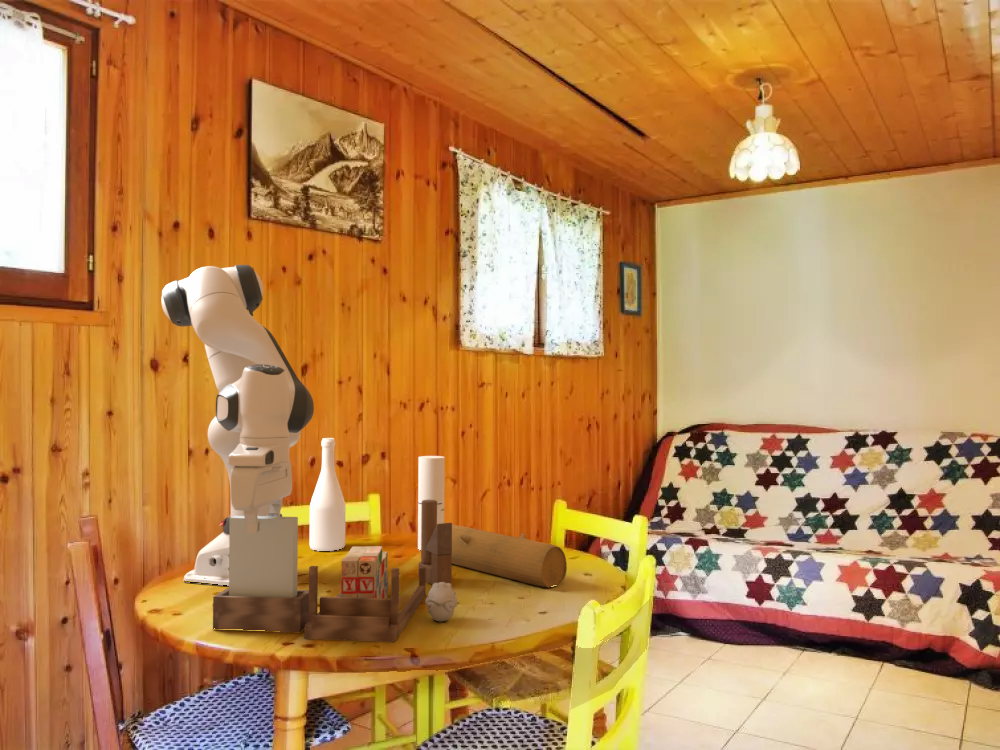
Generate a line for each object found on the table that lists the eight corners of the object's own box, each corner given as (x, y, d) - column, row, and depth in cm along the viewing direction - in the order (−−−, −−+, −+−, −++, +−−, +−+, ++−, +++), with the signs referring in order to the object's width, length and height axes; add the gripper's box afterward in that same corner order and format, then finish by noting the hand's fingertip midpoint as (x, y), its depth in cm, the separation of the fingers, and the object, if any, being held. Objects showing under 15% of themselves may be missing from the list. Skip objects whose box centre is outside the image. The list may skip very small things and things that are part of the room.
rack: (304, 639, 134) (305, 570, 134) (351, 593, 163) (352, 537, 163) (394, 642, 132) (395, 572, 132) (425, 595, 162) (426, 538, 162)
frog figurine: (458, 615, 148) (458, 578, 148) (455, 626, 141) (456, 588, 141) (427, 614, 148) (427, 578, 148) (422, 625, 141) (423, 588, 141)
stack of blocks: (358, 594, 163) (359, 536, 163) (388, 594, 163) (388, 536, 163) (340, 626, 141) (340, 559, 141) (374, 626, 141) (374, 559, 142)
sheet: (228, 627, 140) (229, 517, 140) (234, 623, 142) (235, 515, 142) (292, 629, 139) (293, 519, 139) (297, 625, 141) (297, 516, 141)
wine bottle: (349, 545, 212) (350, 437, 213) (338, 552, 203) (339, 439, 203) (316, 544, 213) (317, 437, 214) (304, 551, 204) (305, 439, 204)
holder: (212, 630, 138) (213, 596, 138) (227, 620, 144) (227, 588, 144) (300, 632, 137) (300, 599, 137) (311, 622, 143) (311, 590, 143)
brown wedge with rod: (437, 588, 168) (437, 506, 168) (417, 577, 177) (418, 499, 177) (452, 586, 169) (452, 505, 170) (432, 575, 179) (432, 498, 179)
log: (426, 562, 193) (427, 523, 193) (455, 557, 200) (455, 518, 200) (538, 592, 166) (538, 546, 166) (567, 585, 172) (567, 540, 172)
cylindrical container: (412, 548, 209) (413, 456, 209) (433, 544, 214) (433, 455, 214) (428, 552, 204) (429, 458, 204) (449, 549, 208) (450, 457, 209)
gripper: (269, 447, 152) (268, 517, 151) (223, 457, 131) (222, 537, 131) (300, 448, 151) (299, 518, 151) (259, 457, 131) (258, 538, 130)
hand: (263, 527), depth 141 cm, fingers open, 8 cm apart
